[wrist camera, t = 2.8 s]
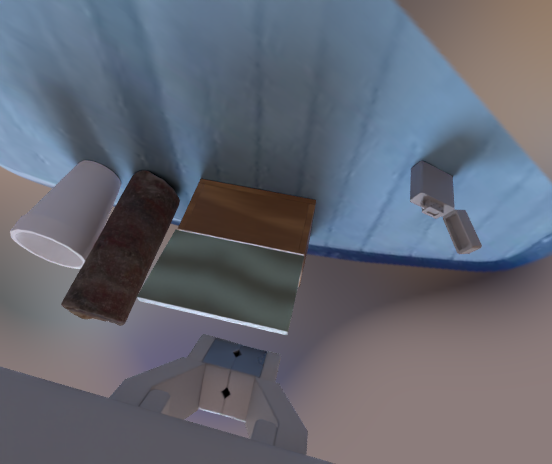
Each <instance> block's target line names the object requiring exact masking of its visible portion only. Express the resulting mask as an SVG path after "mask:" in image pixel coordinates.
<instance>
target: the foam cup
mask: <svg viewBox="0 0 552 464" xmlns="http://www.w3.org/2000/svg"><path fill="white" fill-rule="evenodd" d="M120 187H121V182H120V179H119V178H118V176H117V175H116V174H115V173H114V172H113V171H111V170H110V169H108V168H107V167H105V166H104V165H102V164H99V163H96V162H94V161H87V160H84V161H82V162H79V163H78V165H76V166H75V167H74V168H73V169H72V170H71V171H70V172H69V173H68V174H67V175H66V176H65V177H64V178H63V179H62V180H61V181H60V182H59V183H58V184H57V185H56V186H55V187H54V188H53V189H52V190H51V191H49V192H48V193H47V195H45V196H44V197H43V198H42V200H40V201H39V202H38V203H37V204H36V205H35V206H34V207H33V208H32V209H31V210H30V211H29V212H28V213H27V214H26V215H24V216H21V218H20V219H19V220H18V222H17V223H16V224H15V226H14V227H13V228H12V229H11V231H10V234H11V238H13V240H14V241H16V242H17V243H18V244H19V245H20V246H21V247H23V248H25V249H26V250H28V251H29V252H31V253H33V254H34V255H37V256H39V257H41V258H43V259H45V260H47V261H49V262H52V263H56V264H58V265H61V266H64V267H70V268H75V269H81V268H82V266H83V264H84V262H85V260H86V259H87V257H88V255H89V253H90V252H91V250H92V248H93V246H94V244H95V242H96V241H97V239H98V237H99V236H100V234H101V232H102V230H103V228H104V226H105V223H106V221H107V219H108V216H109V214H110V211H111V209H112V207H113V204H114V202H115V199H116V197H117V195H118V192H119V189H120Z"/></svg>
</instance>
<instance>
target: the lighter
mask: <svg viewBox="0 0 552 464" xmlns="http://www.w3.org/2000/svg"><path fill="white" fill-rule="evenodd" d="M410 202H412V203H414V204H416V205H418V206H420V207H422V212H423V213H425V214H427V215H429V216H431V217H433V218H435V219H437V218H439V217H440V216H441V217H442V216H443V220H444V222H445V225H446V227H447V229H448V232H449V234H450V237H451V239H452V241H453V244H454V246H455V248H456V251H457V253H458V254H469V253H471V252H473V251H475V250H478V249H480V248H481V246H482V245H481V243H480V241H479V238H478V236H477V234H476V232H475V230H474V228H473V225H472V223H471V221H470V219H469V217H468V215H467V212H466V210H454V193H453V176H451V175H449V174H447V173H445V172H444V171H442V170H440V169H438V168H436V167H434V166H432V165H430V164H428V163H426V162H424V161H420V162H419V163H417V164H416V165H415V166H414V167H413V168H412V169H411V186H410Z"/></svg>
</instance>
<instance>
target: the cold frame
mask: <svg viewBox="0 0 552 464" xmlns="http://www.w3.org/2000/svg"><path fill="white" fill-rule="evenodd" d="M315 205H316V200H313V199H308V198H303V197H297V196H292V195H286V194H281V193H276V192H270V191H265V190H259V189H254V188H248V187H243V186H238V185H232V184H227V183H221V182H216V181H210V180H205V179H200V181H199V184H198V186H197V188H196V190H195V192H194V194H193V197H192V199H191V201H190V203H189V205H188V207H187V210H186V212H185V214H184V216H183V218H182V221H181V223H180V225H179V227H178V230H180V231H185V232H190V233H195V234H200V235H205V236H210V237H215V238H220V239H224V240H229V241H234V242H239V243H244V244H249V245H254V246H259V247H264V248H269V249H273V250H278V251H283V252H288V253H293V254H298V255H303V256H304V261H303V266H302V270H301V275H300V279H299V284H298V286H300V283H301V278H302V273H303V268H304V264H305V259H306V254H307V249H308V244H309V240H310V234H311V228H312V222H313V217H314V211H315Z"/></svg>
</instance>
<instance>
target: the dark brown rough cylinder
mask: <svg viewBox="0 0 552 464" xmlns="http://www.w3.org/2000/svg"><path fill="white" fill-rule="evenodd" d="M179 202H180V200H179V197H178V195H177V194H176V193H175V191H174V189H173V188H171V187H170V186H169V185H168V184H167V183H166V182H165V181H164V180H163V179H161V178H158V177H157V176H156V175H153V174H152V173H151V172H149V171H145V170H142V171H138V172H137V173H135V174H134V175H133V176H132V178H131V180H130V181H129V183H128V185H127V187H126V188H125V190H124V192H123V194H122V195H121V197H120V199H119V201H118V203H117V205H116V207H115V208H114V210H113V212H112V214H111V216H110V217H109V219H108V221H107V223H106V225H105V227H104V229H103V230H102V232H101V234H100V236H99V237H98V239H97V241H96V242H95V244H94V246H93V248H92V250H91V252H90V253H89V255H88V257H87V259H86V260H85V262H84V264H83V266H82V268H81V269H80V271H79V273H78V275H77V277H76V278H75V280H74V282H73V283H72V285H71V287H70V289H69V291H68V293H67V294H66V296H65V298H64V300H63V302H62V304H61V305H62V306H63V307H64V308H66V309H68V310H69V311H70V312H71V313H73V314H74V315H77V316H78V317H80V318H82V319H92V318H94V319H98V320H102V321H109V322H112V323H115V324H117V325H120V326H121V325H124V324H125V322H126V320H127V318H128V315H129V313H130V311H131V309H132V307H133V305H134V302H135V300H136V298H137V295H138V293H139V291H140V289H141V287H142V285H143V282H144V280H145V278H146V276H147V273H148V271H149V269H150V267H151V264H152V262H153V260H154V258H155V256H156V254H157V251H158V249H159V247H160V245H161V243H162V241H163V239H164V237H165V234H166V232H167V230H168V228H169V226H170V224H171V222H172V219H173V217H174V215H175V213H176V210H177V208H178V206H179Z"/></svg>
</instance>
